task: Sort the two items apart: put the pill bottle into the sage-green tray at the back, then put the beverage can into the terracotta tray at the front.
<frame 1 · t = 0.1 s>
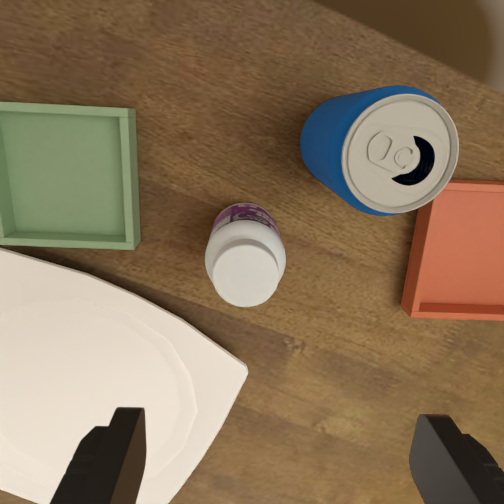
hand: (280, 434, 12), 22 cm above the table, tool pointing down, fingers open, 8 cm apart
beverage can: (340, 141, 31), on the table
pill bottle: (244, 232, 33), on the table
plate: (86, 392, 37), on the table
green tray: (71, 175, 31), on the table
terracotta tray: (477, 247, 34), on the table
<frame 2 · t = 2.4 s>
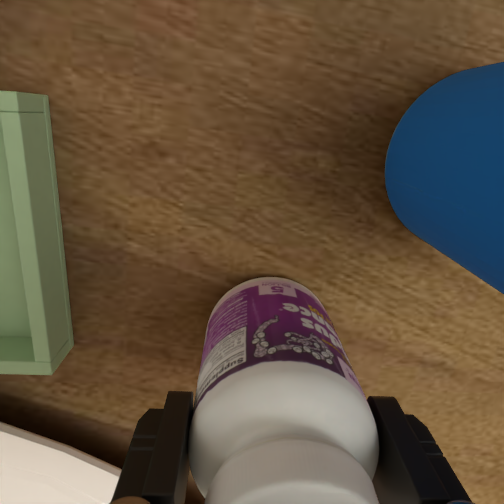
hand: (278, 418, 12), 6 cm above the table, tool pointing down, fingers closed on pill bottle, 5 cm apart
beverage can: (458, 160, 16), on the table
pill bottle: (267, 326, 18), on the table, touching gripper
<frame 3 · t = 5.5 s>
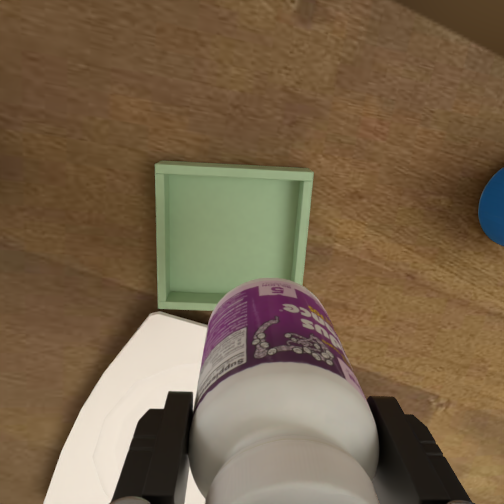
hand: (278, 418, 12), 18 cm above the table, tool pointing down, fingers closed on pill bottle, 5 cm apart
pill bottle: (267, 326, 18), point 13 cm above the table, touching gripper
plate: (218, 449, 36), on the table
green tray: (232, 235, 29), on the table
when the fingers open (6 cm above the table, at t = 8.8 s): pill bottle stays where it is, resting on green tray.
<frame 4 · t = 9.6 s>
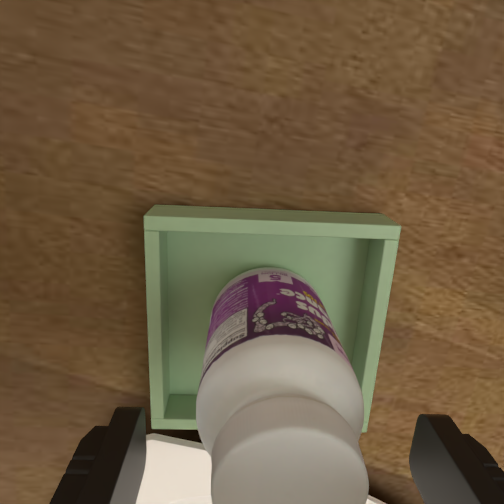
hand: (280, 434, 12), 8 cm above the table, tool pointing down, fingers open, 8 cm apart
pill bottle: (266, 313, 19), resting on green tray
green tray: (263, 312, 19), on the table
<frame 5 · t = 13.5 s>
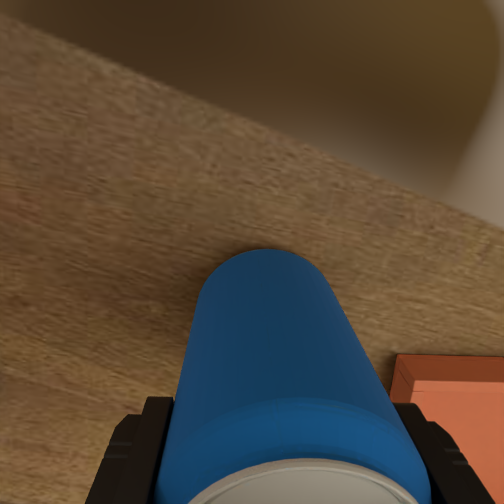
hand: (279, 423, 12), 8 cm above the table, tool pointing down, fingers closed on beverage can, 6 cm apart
beverage can: (264, 305, 20), on the table, touching gripper
terracotta tray: (478, 442, 23), on the table
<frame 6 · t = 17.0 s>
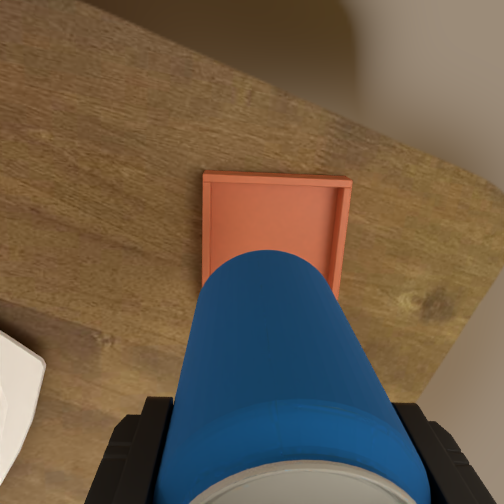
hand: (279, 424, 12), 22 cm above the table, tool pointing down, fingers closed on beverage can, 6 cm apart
beverage can: (264, 305, 20), point 14 cm above the table, touching gripper
terracotta tray: (271, 240, 34), on the table
when the fingers open (8 cm above the table, at t = 20.7 s): beverage can stays where it is, resting on terracotta tray.
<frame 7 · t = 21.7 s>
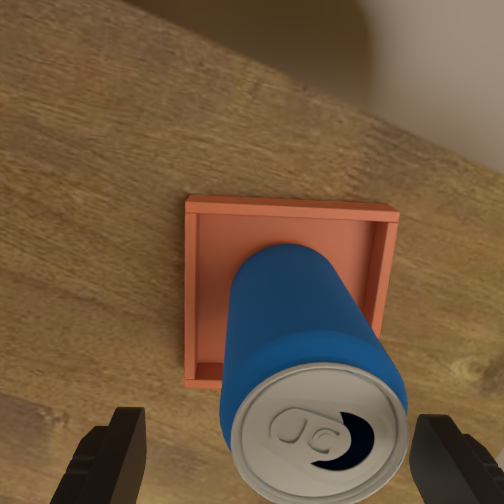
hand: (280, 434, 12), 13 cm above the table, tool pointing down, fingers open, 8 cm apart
beverage can: (284, 290, 24), resting on terracotta tray
terracotta tray: (281, 290, 24), on the table
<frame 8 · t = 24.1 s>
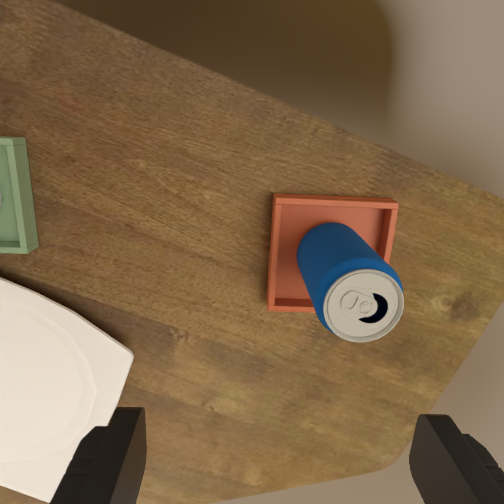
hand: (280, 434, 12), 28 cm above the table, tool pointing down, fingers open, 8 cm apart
beverage can: (327, 251, 40), resting on terracotta tray
plate: (3, 375, 43), on the table
terracotta tray: (326, 251, 40), on the table
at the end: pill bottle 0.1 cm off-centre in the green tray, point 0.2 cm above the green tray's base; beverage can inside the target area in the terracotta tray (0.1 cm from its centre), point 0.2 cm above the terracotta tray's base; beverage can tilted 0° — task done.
